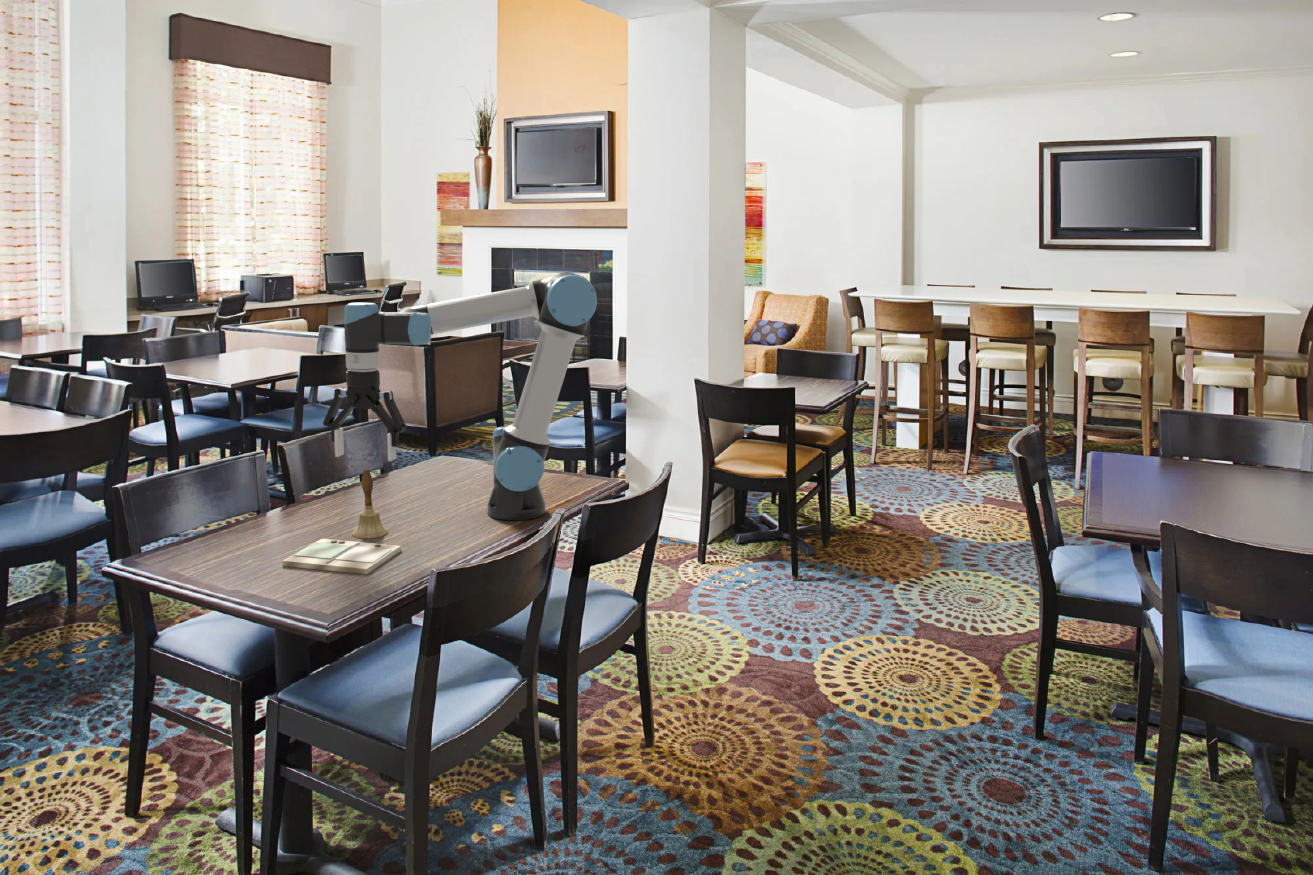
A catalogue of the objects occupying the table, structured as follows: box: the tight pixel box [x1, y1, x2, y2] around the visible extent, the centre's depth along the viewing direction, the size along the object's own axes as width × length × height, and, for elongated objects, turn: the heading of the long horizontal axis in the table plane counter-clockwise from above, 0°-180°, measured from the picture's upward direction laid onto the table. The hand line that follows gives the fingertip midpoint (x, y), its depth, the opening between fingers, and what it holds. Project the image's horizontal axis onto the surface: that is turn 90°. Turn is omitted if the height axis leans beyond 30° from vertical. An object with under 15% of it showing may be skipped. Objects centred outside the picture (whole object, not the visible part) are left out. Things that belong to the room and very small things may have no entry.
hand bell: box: [352, 468, 389, 540], centre depth 231 cm, size 8×8×16 cm
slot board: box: [281, 538, 402, 575], centre depth 215 cm, size 20×16×1 cm
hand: (365, 457), depth 229 cm, fingers open, 13 cm apart
